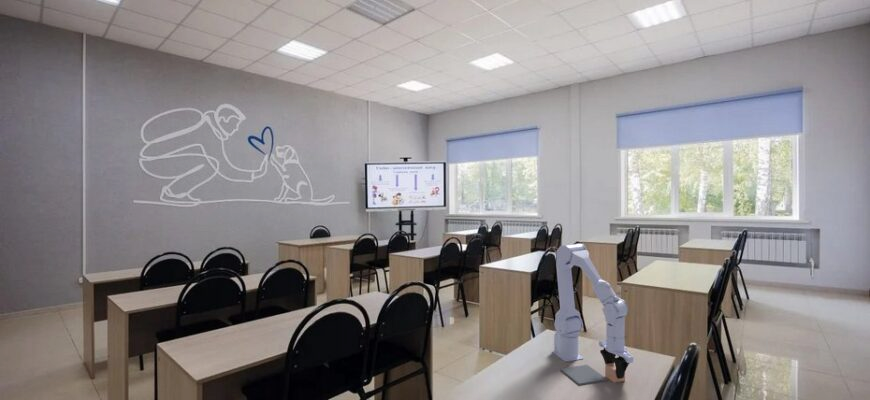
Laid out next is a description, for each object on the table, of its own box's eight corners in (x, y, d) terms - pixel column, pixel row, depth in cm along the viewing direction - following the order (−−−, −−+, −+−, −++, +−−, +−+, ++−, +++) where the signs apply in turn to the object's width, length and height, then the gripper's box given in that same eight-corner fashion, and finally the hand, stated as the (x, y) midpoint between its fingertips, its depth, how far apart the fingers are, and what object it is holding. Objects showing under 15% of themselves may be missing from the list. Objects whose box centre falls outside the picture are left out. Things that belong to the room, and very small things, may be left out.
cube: (605, 376, 139) (605, 364, 139) (616, 374, 140) (616, 362, 140) (614, 382, 134) (614, 369, 134) (625, 380, 136) (625, 368, 135)
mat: (560, 370, 144) (560, 368, 144) (587, 366, 146) (587, 364, 146) (579, 385, 133) (579, 383, 133) (607, 380, 136) (607, 378, 136)
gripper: (641, 342, 130) (640, 383, 131) (610, 326, 145) (610, 363, 145) (622, 344, 129) (622, 386, 129) (594, 329, 143) (593, 366, 143)
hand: (615, 374), depth 137 cm, fingers closed on cube, 4 cm apart
